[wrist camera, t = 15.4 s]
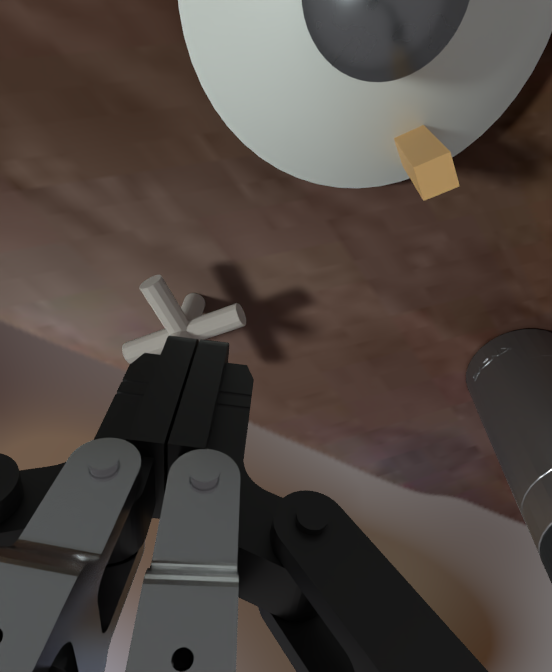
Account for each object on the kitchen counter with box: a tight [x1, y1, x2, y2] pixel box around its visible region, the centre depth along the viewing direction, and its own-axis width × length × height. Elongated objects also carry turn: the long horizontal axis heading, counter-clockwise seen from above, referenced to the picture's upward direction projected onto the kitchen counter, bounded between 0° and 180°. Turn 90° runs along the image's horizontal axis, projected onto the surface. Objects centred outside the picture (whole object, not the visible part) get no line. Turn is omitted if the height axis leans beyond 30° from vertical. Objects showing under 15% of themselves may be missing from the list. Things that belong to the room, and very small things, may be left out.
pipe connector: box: [122, 275, 246, 364], centre depth 39 cm, size 10×10×10 cm
